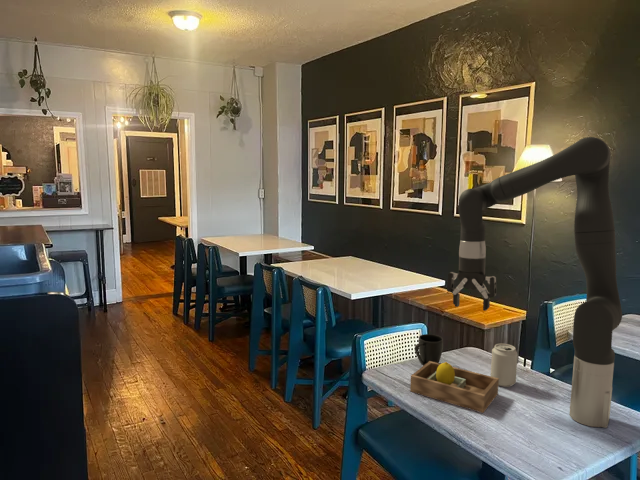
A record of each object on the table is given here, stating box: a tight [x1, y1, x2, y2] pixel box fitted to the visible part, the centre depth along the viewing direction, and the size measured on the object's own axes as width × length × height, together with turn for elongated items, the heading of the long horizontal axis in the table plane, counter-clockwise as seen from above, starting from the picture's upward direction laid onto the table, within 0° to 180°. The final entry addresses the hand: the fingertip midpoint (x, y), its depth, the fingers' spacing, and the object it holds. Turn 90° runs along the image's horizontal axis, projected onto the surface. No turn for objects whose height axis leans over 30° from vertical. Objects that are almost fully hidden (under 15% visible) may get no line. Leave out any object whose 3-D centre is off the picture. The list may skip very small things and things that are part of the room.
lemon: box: [436, 361, 455, 385], centre depth 145 cm, size 6×6×8 cm
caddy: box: [409, 361, 499, 414], centre depth 143 cm, size 22×14×5 cm, turn 54°
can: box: [490, 343, 519, 388], centre depth 150 cm, size 8×8×12 cm
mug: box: [414, 333, 444, 367], centre depth 163 cm, size 8×12×10 cm
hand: (470, 308), depth 144 cm, fingers open, 8 cm apart
